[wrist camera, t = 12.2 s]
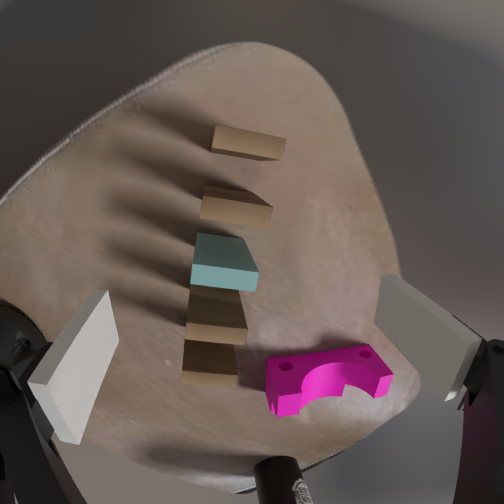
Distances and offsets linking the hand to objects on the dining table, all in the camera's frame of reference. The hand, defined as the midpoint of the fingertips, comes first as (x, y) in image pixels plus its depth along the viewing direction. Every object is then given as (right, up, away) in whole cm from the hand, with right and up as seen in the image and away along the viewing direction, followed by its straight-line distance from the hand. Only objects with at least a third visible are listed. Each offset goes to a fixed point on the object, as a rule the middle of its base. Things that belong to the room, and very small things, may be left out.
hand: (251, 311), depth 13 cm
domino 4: (-4, -1, +20) cm, 20 cm away
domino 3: (-3, +4, +18) cm, 19 cm away
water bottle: (+5, -38, +33) cm, 51 cm away
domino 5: (-5, -6, +21) cm, 23 cm away
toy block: (+9, -14, +26) cm, 31 cm away
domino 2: (-2, +8, +17) cm, 19 cm away
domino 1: (-2, +13, +16) cm, 21 cm away
